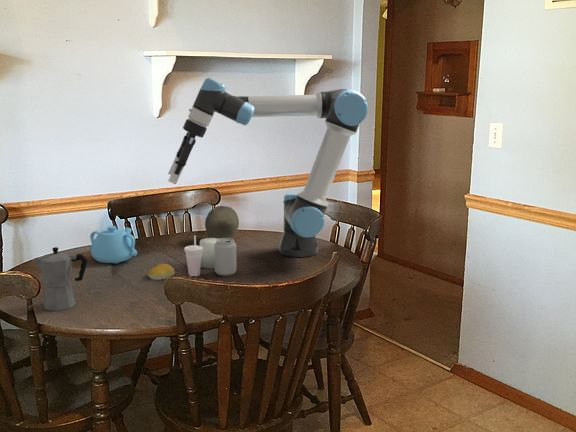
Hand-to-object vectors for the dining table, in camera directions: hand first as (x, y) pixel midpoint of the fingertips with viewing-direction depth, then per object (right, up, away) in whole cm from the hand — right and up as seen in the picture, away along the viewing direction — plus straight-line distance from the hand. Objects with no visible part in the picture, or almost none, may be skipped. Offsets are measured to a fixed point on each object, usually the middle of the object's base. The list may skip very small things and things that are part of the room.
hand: (171, 178), depth 216 cm
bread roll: (-3, -34, -2) cm, 34 cm away
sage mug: (+12, -30, +10) cm, 34 cm away
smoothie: (+8, -33, -1) cm, 34 cm away
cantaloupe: (+13, -24, +39) cm, 48 cm away
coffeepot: (-27, -40, -29) cm, 56 cm away
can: (+18, -33, +2) cm, 38 cm away
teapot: (-24, -29, +18) cm, 41 cm away
